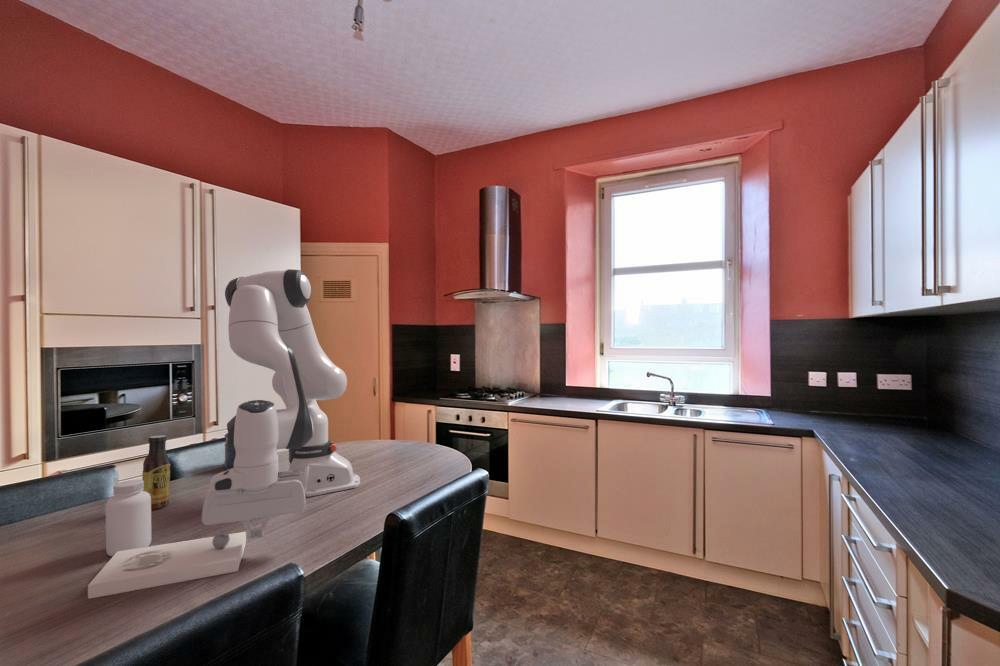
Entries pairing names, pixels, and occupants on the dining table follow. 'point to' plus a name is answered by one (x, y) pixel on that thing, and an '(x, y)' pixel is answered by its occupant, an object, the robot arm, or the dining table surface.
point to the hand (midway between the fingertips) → (256, 537)
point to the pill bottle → (128, 517)
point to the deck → (167, 565)
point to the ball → (220, 540)
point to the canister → (229, 455)
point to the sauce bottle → (157, 472)
